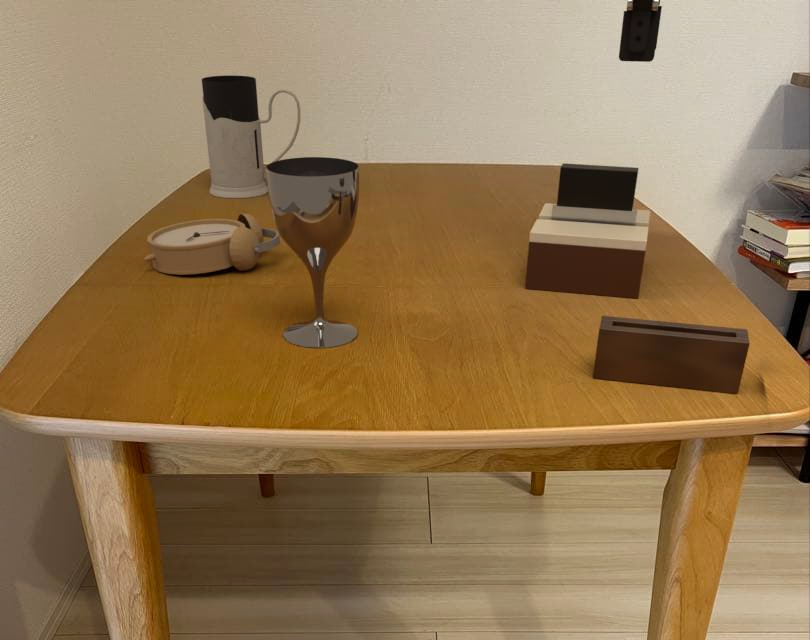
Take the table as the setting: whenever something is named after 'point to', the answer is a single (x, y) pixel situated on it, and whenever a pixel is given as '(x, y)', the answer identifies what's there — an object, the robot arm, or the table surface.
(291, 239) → the wine glass
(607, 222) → the dough scraper
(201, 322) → the table surface
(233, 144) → the glass holder
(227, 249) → the alarm clock
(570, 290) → the cake near
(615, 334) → the block
